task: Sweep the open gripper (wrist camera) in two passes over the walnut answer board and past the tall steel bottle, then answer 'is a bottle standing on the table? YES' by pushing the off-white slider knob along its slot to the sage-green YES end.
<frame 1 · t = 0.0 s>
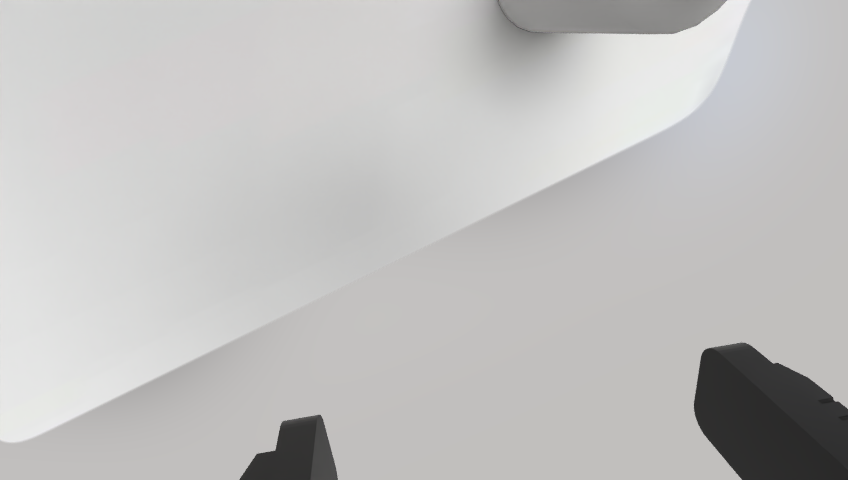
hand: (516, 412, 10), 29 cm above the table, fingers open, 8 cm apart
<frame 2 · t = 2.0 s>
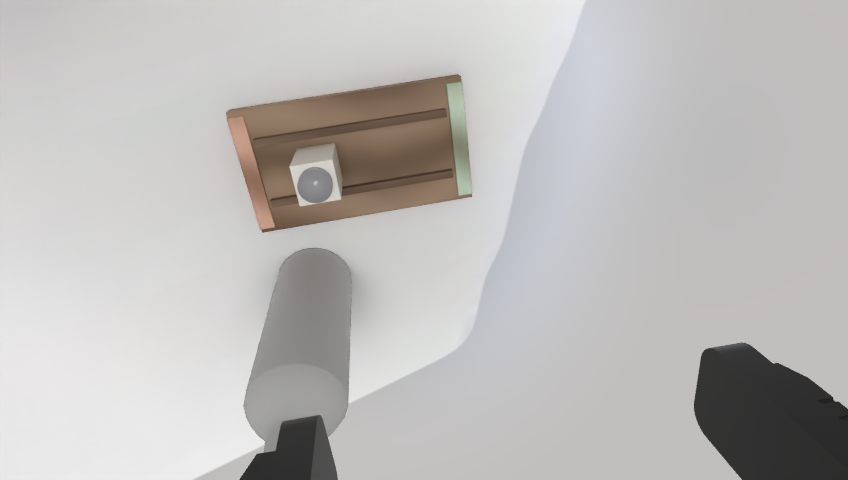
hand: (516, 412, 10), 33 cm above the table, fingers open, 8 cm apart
bottle: (315, 279, 45), on the table
slider knob: (317, 174, 36), point 4 cm above the table, slide at -3.0 cm
answer board: (357, 153, 40), on the table
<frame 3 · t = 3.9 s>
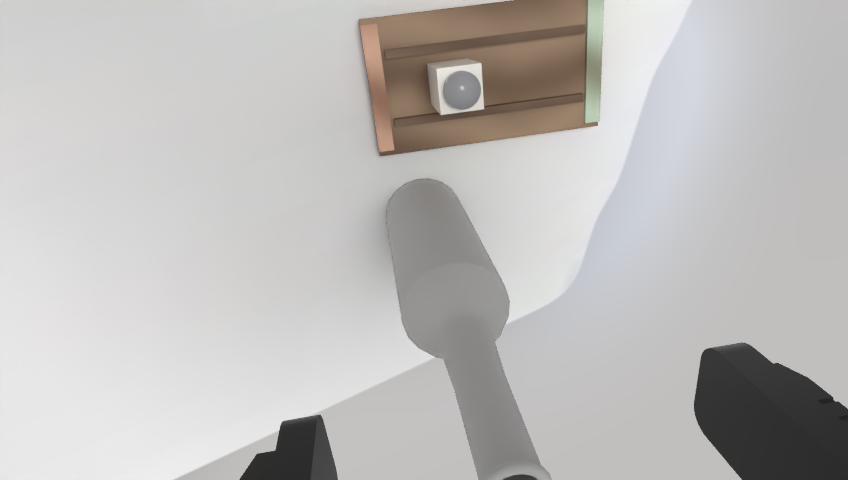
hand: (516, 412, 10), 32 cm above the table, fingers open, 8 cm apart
bottle: (423, 214, 43), on the table
slider knob: (455, 85, 35), point 4 cm above the table, slide at -3.0 cm
answer board: (483, 74, 39), on the table
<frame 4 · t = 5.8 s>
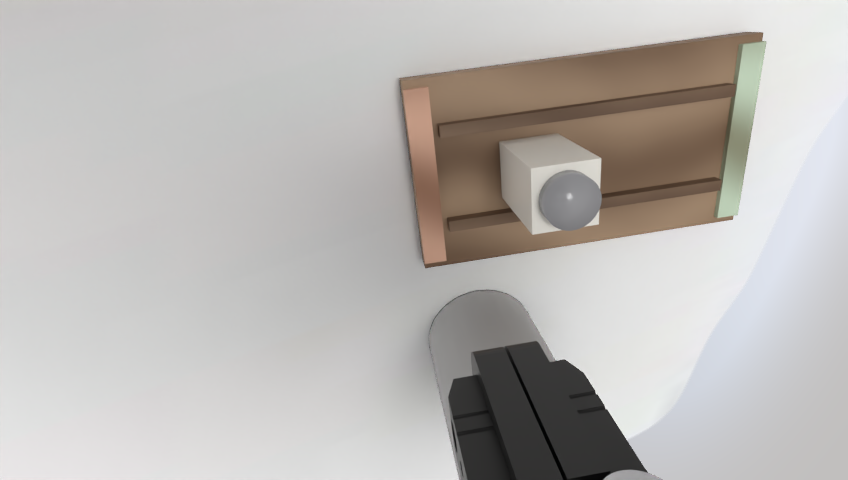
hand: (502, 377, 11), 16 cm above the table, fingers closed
bottle: (479, 333, 31), on the table
slider knob: (548, 182, 23), point 4 cm above the table, slide at -3.0 cm
answer board: (575, 151, 27), on the table
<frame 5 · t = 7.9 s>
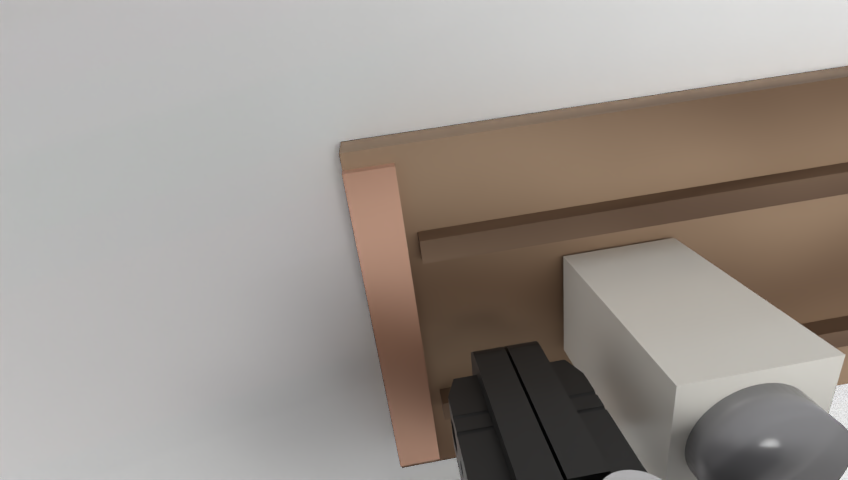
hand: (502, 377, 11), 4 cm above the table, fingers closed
slider knob: (679, 362, 11), point 4 cm above the table, slide at -2.3 cm, touching gripper
answer board: (670, 261, 15), on the table
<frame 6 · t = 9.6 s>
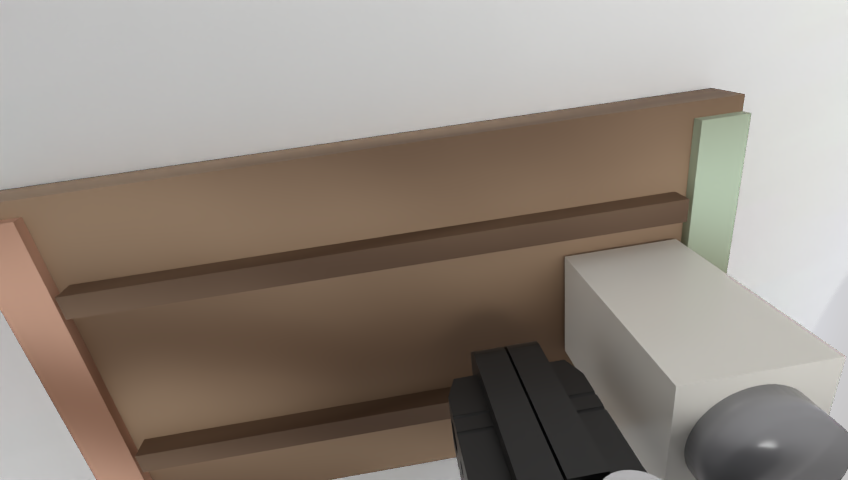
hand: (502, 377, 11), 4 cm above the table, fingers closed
slider knob: (680, 363, 11), point 4 cm above the table, slide at 6.1 cm, touching gripper
answer board: (395, 307, 14), on the table
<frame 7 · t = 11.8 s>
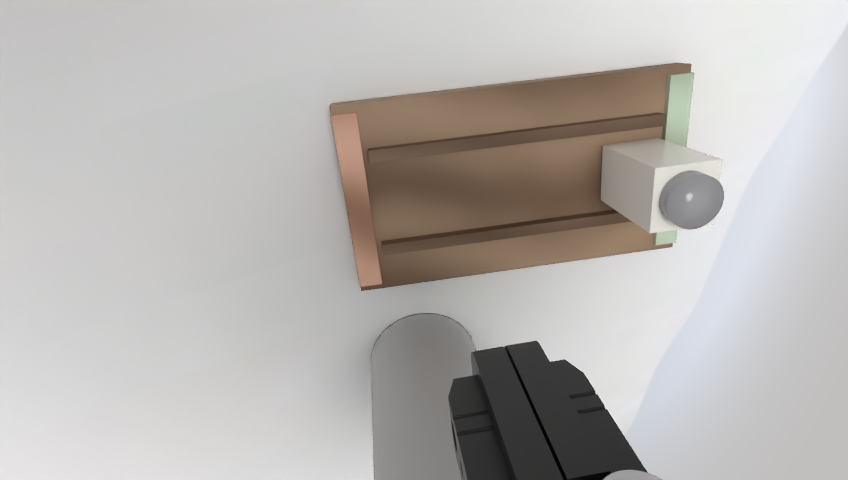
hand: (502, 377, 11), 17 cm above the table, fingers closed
bottle: (423, 356, 31), on the table
slider knob: (658, 184, 23), point 4 cm above the table, slide at 6.0 cm
answer board: (511, 177, 27), on the table
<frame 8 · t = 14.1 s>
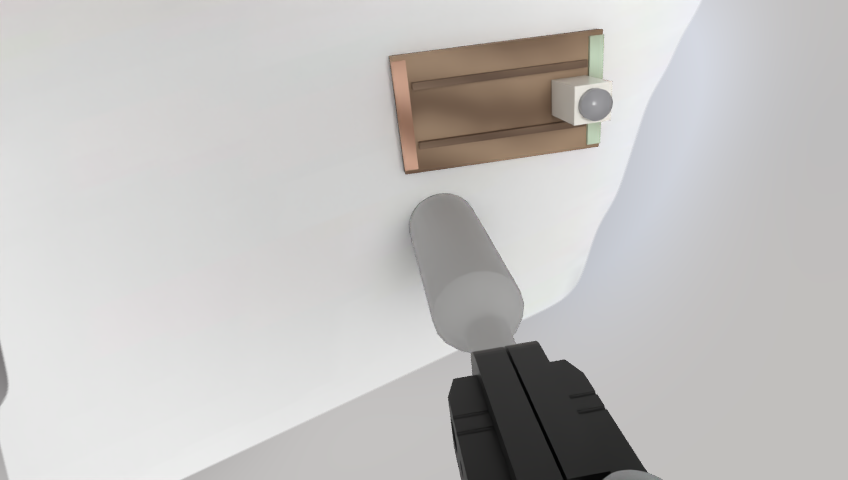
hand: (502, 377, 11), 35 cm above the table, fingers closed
bottle: (442, 224, 48), on the table
slider knob: (581, 99, 40), point 4 cm above the table, slide at 6.0 cm
answer board: (497, 102, 44), on the table
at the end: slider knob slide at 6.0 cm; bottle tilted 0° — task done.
